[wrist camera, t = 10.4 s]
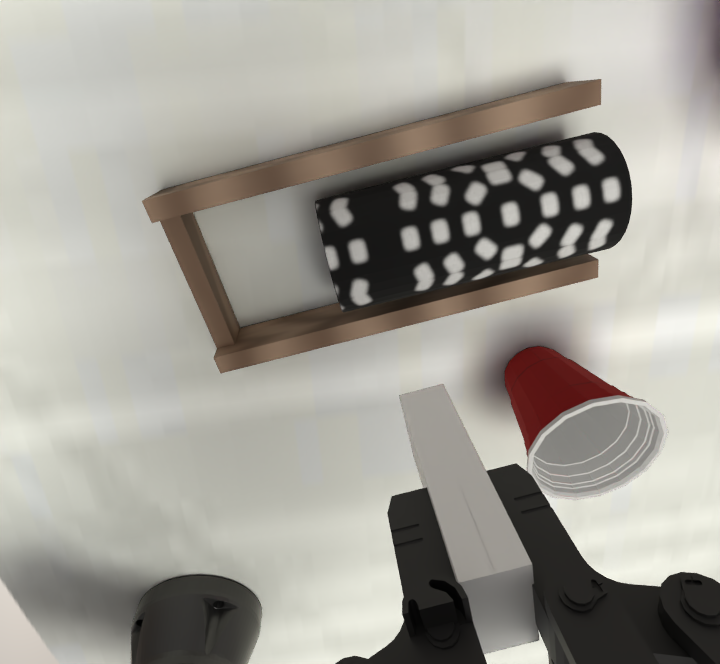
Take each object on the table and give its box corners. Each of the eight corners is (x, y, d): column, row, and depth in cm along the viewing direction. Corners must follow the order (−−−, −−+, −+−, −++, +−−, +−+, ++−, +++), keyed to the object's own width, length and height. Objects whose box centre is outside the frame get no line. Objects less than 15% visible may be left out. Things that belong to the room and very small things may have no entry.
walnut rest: (229, 346, 40) (220, 373, 36) (162, 189, 34) (141, 200, 30) (569, 259, 39) (598, 277, 35) (566, 82, 33) (601, 79, 29)
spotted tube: (310, 193, 28) (623, 117, 28) (319, 206, 36) (560, 147, 36) (342, 320, 30) (639, 249, 29) (343, 305, 38) (575, 249, 37)
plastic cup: (469, 417, 46) (516, 511, 36) (488, 323, 41) (549, 398, 31) (568, 416, 47) (642, 506, 37) (598, 324, 43) (693, 397, 32)
